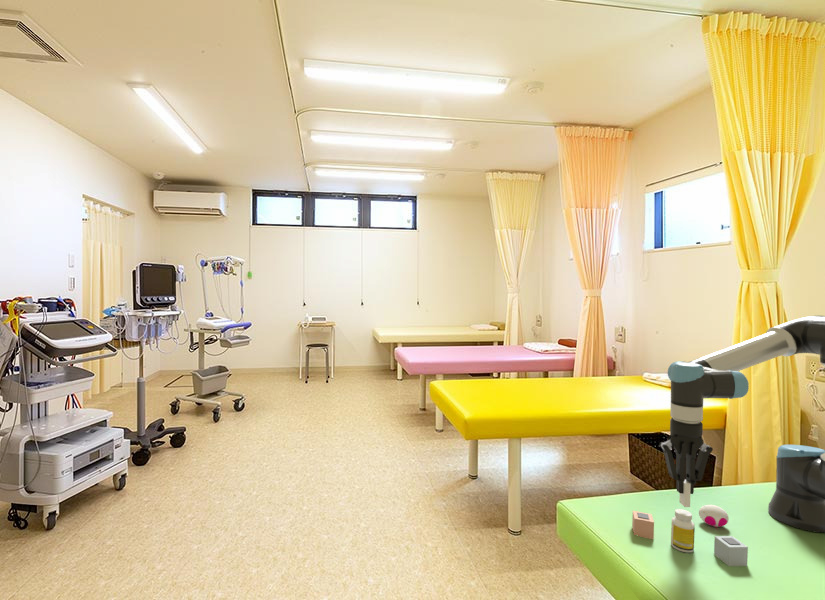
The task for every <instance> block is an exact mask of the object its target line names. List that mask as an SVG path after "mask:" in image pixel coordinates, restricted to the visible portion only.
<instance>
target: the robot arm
mask: <svg viewBox="0 0 825 600" xmlns="http://www.w3.org/2000/svg"><path fill="white" fill-rule="evenodd" d="M799 354H815V355H819V356H820V357H819V358H820V359H819V363H820V364H821V365H822V366H823V367H825V315H807V316H804V317H800V318H795V319H792V320H789V321H786V322H783V323H780V324H778V325H775V326H772V327H770V328H768V329H767V330H766V332H765V333H762V334H761V335H758V336H755V337H753V338H750V339H747V340H744V341H742V342H739V343H735V344H734V345H731V346H727V347H726V348H724V349H720V350H717V351H714V352H713V353H712V352H711V353H710V354H707V355H705V356H702V357H698V358H696V359H693V360H690V361H685V360H684V361H681V360H680V361H674V362H672V363H670V365H669V366H668V368H667V377H668V379H669V380H670V417H671V418H670V419H669V420H670V424H669V432H670V435H669V436H668V439H667V440H666V441H664V442H663V441H661V442H659V446H660V448H661V449H662V451H663V455H664V459H665V464H666V468H667V470H668V471H667V472H668V475H669V476H670V477H671V478H672V479H674V480H676V492H678V493H679V497H678V498H679V504H681V506H683V507H684V508H691V495H694V491H695V490H694V489H695V485H696V484H697V482H701V481H702V480H703V477H704V473H705V469H706V467H707V463H708V461H709V460H708V459H709V457H710V455H711V453H712V452H713V450H714V448H713V447H711V446H710V445H709V444H707V443H705V442H704V439H703V433H704V432H703V430H704V429H703V426H704V425H703V423H702V421H703V419H704V417H703V415H704V399H729V400H733V399H741V398H743V397H745V396H747V394H748V392H749V383H750V382H749V381H748V379H747V377H746V375H745V374H744V373H742V372H741V371H742V370H745V369H749V368H750V367H754V366H756V365H759V364H761V363H764V362H768V361H770V360H772V359H775V358H777V357H780V356H782V357H791V356H794V355H799ZM672 447H673V448H674V450H675V451H674V452H675V459H674V457H673V456H674V455H673V453H672V451H671V450H672V449H673V448H672ZM697 453H698V454H697ZM674 460H675V461H674ZM775 471H776V475H775V477H776V478H775V479H776V480H775V481H776V483H775V484H776V485H775V491H774V493H773V494H772V497H771V499H770V501H769V502H768V507H767V510H768V514H769V515H770V516H771V517H773V518H774V519H775V520H777V521H779V522H781V523H782V524H785V525H788V526H791V527H794V528H795V529H799V528H800V529H799V530H803V529H804V530H803V531H807V530H809V531H808V532H812V531H815V532H814V533H820V532H825V449H822V448H819V447H814V446H809V445H800V444H782V445H780V446H778V448H777V455H776V470H775Z"/></svg>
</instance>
